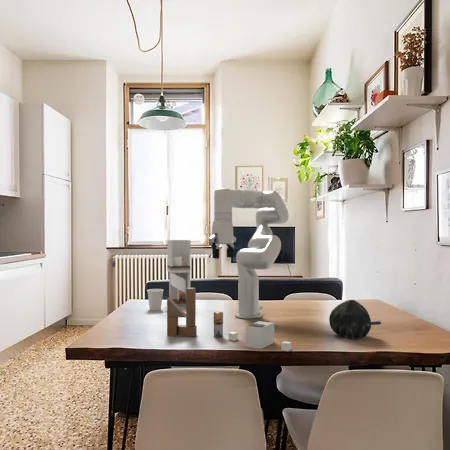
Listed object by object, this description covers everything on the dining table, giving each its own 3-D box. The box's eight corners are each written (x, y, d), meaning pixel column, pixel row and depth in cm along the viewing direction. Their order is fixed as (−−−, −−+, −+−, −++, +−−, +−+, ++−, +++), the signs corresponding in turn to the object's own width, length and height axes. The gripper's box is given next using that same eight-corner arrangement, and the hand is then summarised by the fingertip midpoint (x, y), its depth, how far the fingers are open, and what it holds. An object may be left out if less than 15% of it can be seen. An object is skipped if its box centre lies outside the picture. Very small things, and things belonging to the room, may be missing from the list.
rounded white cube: (232, 338, 154) (232, 331, 154) (237, 339, 153) (237, 332, 153) (228, 339, 152) (228, 332, 152) (233, 340, 151) (233, 333, 151)
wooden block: (169, 334, 161) (169, 287, 161) (196, 334, 160) (196, 287, 160) (166, 336, 157) (167, 288, 158) (194, 337, 156) (195, 288, 156)
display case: (167, 303, 232) (167, 240, 233) (185, 302, 236) (186, 239, 236) (170, 306, 222) (171, 240, 222) (190, 305, 225) (190, 240, 225)
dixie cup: (162, 311, 208) (162, 291, 208) (145, 311, 208) (145, 290, 208) (164, 308, 216) (164, 288, 217) (148, 308, 217) (148, 288, 217)
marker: (285, 348, 141) (285, 341, 141) (291, 349, 139) (291, 342, 139) (281, 350, 139) (281, 342, 139) (287, 351, 137) (287, 343, 137)
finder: (258, 340, 152) (258, 320, 152) (273, 342, 149) (273, 321, 149) (245, 346, 143) (245, 325, 144) (261, 349, 140) (261, 327, 140)
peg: (217, 335, 159) (217, 311, 159) (225, 336, 157) (225, 312, 157) (211, 336, 156) (211, 312, 157) (219, 338, 154) (219, 313, 154)
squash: (342, 315, 170) (332, 290, 162) (379, 322, 160) (371, 295, 153) (330, 344, 162) (319, 319, 154) (368, 352, 152) (359, 326, 144)
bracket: (359, 318, 194) (359, 312, 194) (381, 325, 180) (380, 318, 180) (332, 321, 189) (332, 314, 189) (352, 327, 175) (352, 321, 175)
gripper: (228, 218, 187) (228, 256, 187) (203, 217, 173) (203, 258, 173) (242, 218, 182) (242, 257, 182) (217, 216, 169) (217, 259, 168)
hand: (223, 257), depth 177 cm, fingers open, 9 cm apart
